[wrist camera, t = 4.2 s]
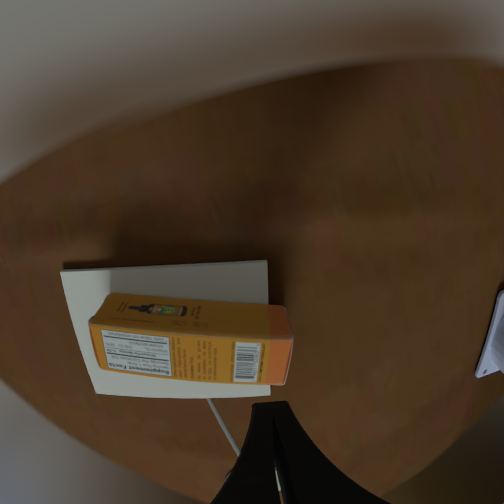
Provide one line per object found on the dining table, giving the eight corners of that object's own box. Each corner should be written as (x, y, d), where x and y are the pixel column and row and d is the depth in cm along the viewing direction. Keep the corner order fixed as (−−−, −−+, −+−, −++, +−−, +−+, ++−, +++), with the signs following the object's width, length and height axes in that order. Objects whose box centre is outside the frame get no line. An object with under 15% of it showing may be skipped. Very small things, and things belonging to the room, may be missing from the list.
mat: (266, 259, 17) (267, 262, 17) (269, 391, 20) (270, 395, 19) (63, 269, 17) (60, 272, 16) (98, 389, 19) (96, 393, 19)
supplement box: (278, 354, 18) (114, 335, 18) (288, 304, 17) (108, 285, 17) (284, 392, 15) (94, 369, 15) (297, 339, 14) (84, 314, 13)
